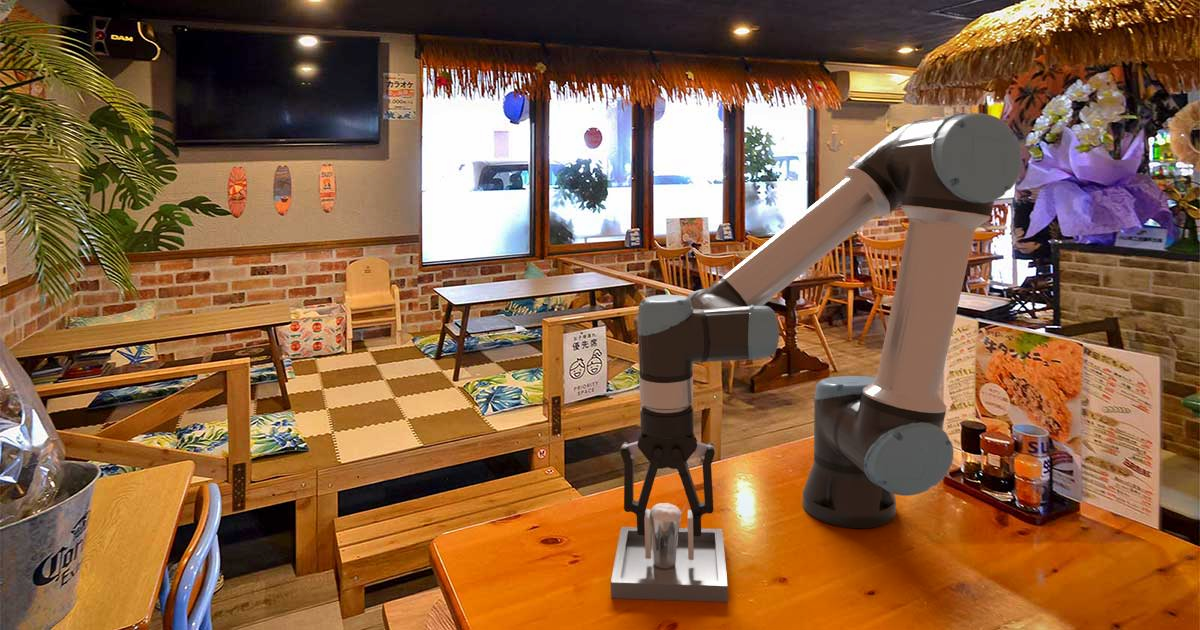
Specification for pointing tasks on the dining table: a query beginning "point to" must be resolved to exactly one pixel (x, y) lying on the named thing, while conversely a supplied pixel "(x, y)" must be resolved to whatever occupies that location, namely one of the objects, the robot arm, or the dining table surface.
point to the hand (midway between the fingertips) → (669, 554)
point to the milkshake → (665, 533)
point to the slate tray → (671, 569)
